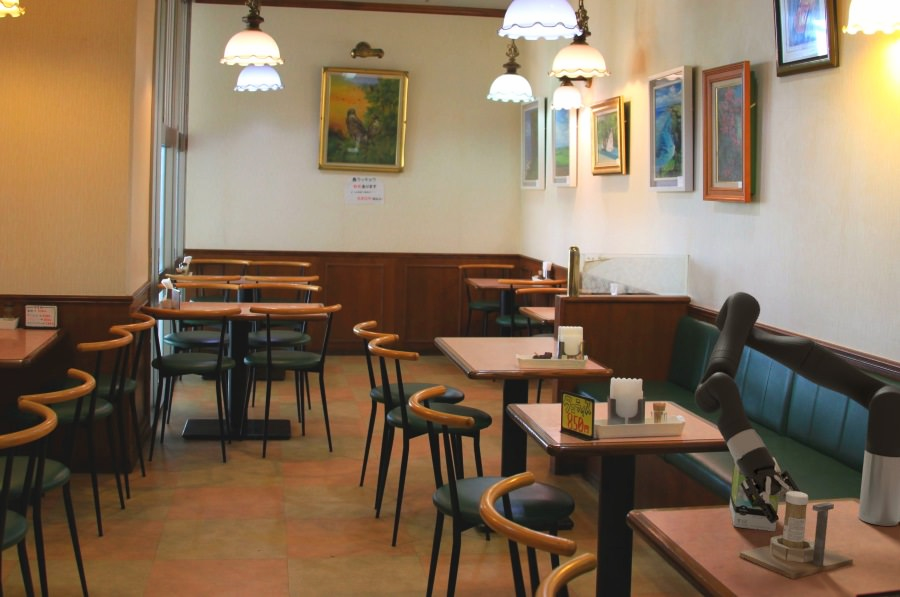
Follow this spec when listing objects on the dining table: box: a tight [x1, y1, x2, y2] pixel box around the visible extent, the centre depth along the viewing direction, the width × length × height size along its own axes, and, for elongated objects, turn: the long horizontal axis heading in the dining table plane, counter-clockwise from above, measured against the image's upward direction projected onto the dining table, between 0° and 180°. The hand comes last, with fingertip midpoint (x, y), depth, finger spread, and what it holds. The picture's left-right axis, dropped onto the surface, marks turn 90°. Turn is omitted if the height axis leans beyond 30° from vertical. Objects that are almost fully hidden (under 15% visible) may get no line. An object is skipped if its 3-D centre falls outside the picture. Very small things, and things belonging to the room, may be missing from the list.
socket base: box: [739, 501, 854, 580], centre depth 218 cm, size 20×14×14 cm
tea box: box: [729, 456, 782, 532], centre depth 244 cm, size 15×10×15 cm, turn 168°
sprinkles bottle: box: [782, 490, 809, 549], centre depth 219 cm, size 5×5×13 cm
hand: (787, 518), depth 220 cm, fingers open, 8 cm apart
